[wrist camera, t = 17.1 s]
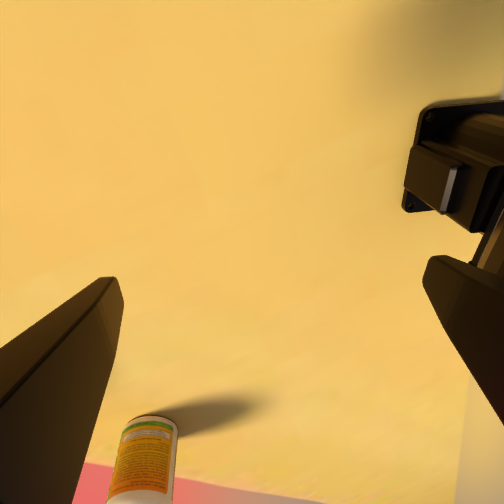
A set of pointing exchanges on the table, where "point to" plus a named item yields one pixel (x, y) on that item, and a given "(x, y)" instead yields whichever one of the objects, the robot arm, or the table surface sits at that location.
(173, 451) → the supplement bottle
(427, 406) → the table surface
